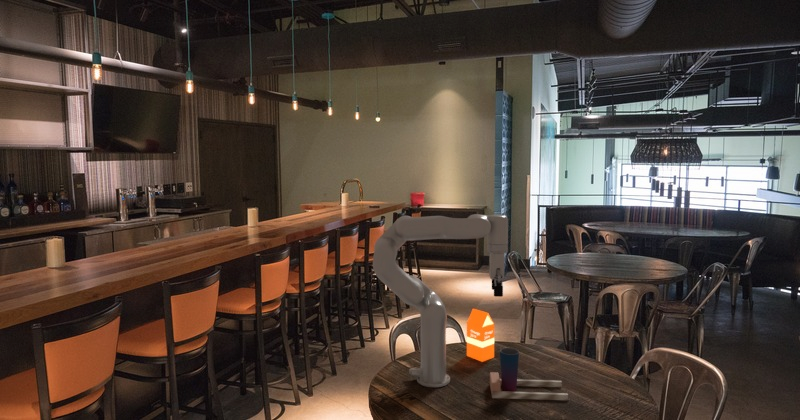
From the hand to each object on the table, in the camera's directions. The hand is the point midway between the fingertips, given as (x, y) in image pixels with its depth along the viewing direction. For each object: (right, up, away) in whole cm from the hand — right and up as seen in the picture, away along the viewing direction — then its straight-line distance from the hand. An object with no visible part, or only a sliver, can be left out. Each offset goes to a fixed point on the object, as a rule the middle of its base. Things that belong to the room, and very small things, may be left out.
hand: (497, 292), depth 194 cm
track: (+9, -34, -8) cm, 36 cm away
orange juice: (-2, -31, +25) cm, 40 cm away
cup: (+3, -35, -8) cm, 35 cm away
